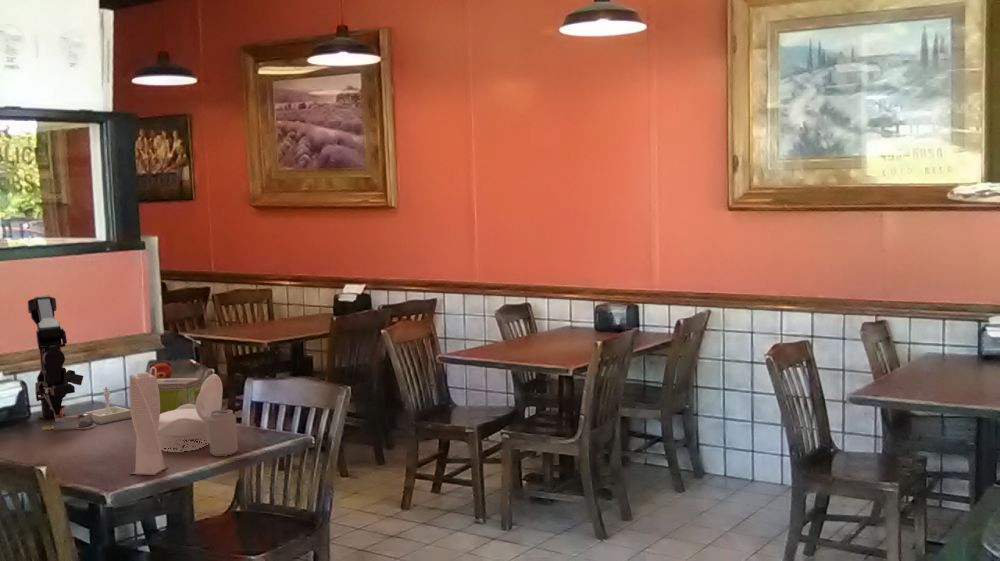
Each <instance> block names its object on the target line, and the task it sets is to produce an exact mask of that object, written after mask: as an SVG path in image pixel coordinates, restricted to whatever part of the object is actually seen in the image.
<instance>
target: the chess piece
mask: <svg viewBox="0 0 1000 561" xmlns="http://www.w3.org/2000/svg"><path fill="white" fill-rule="evenodd" d="M103 391H105V392H103V393H102V394H103V396H104V399H103V402H105V408H106V410H105V414H103V415H107V414H112V413H111V410H110V407H111V406H110V401H111V399H110V395H111V392H109V391H110V388H108V387H107V386H105V388H103ZM101 416H102V415H101Z"/></svg>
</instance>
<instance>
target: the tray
mask: <svg viewBox="0 0 1000 561" xmlns="http://www.w3.org/2000/svg"><path fill="white" fill-rule="evenodd" d="M105 410H106V407H105V408H99V409H96V410H91V411H85V412H84V413H92V414H93V423H95V424H99V425H102V424H108V423H113V422H114V423H115V422H117V421H118V422H119V421H123V420H127V419H132V417H131V410H130V409H129V408H124V407H120V406H116V405H115V406H112V407H111V406H110V410H111V413H112V414H107V415H103V414H105ZM101 415H102V416H101Z"/></svg>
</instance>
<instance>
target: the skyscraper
mask: <svg viewBox="0 0 1000 561" xmlns="http://www.w3.org/2000/svg"><path fill="white" fill-rule="evenodd" d="M153 368H154V369H155V376H153V375H151V374H152V369H153ZM149 369H150V368H149ZM156 374H157V369H156V368H155V367H151V369H150V370H149V372H145V371H143V372H138V373H137V375H134V374H130V375H129V383H128V384H129V387H128V388H129V390H128V391H129V394H128V395H129V407H130V409H129V410H131V417H132V418H131V421H132V425H133V428H134V432H135V436H136V439H135V440H136V441H135V442H136V443H135V470H134V471H132V472H130V473H129V475H130V474H132V473H133V474H153V475H155V474H156V473H158V472H160V471H161V470H164V469H166V468H168V469H169V466H165V463H164V456H163V451H162V450H161V446H160V441H159V437H158V433H157V431H158V425H159V418H160V396H159V389H158V382H157V377H156ZM166 470H167V469H166ZM164 471H165V470H164ZM160 473H161V472H160ZM155 476H156V475H155Z"/></svg>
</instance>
